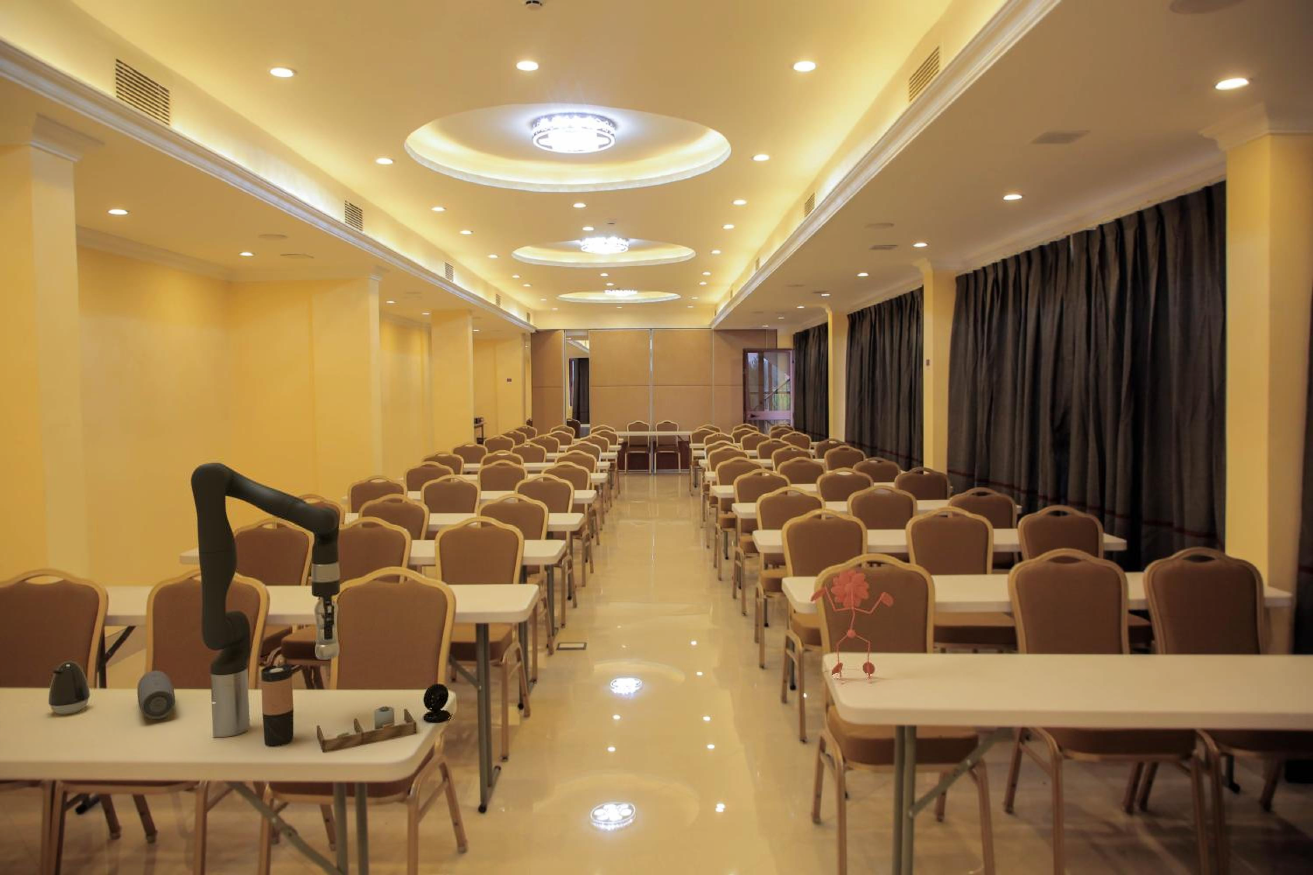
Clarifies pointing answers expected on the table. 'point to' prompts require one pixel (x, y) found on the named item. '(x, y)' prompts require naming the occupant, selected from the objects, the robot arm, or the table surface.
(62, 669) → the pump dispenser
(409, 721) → the slot rack
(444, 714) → the webcam
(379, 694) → the table surface
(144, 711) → the bluetooth speaker
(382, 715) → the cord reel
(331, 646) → the plastic bottle
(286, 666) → the travel mug
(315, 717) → the table surface
